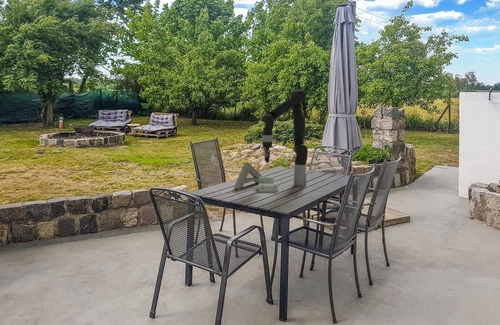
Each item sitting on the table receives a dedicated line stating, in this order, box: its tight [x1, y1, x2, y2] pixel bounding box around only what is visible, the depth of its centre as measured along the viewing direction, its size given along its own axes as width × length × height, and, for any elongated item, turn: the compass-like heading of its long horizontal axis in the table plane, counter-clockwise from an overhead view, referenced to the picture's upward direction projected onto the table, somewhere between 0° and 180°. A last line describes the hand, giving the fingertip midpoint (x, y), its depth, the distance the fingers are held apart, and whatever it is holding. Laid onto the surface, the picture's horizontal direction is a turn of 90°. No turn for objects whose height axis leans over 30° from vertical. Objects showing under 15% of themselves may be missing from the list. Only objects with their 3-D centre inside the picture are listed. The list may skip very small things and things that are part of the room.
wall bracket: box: [233, 161, 264, 191], centre depth 300 cm, size 22×4×30 cm
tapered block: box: [258, 176, 275, 184], centre depth 292 cm, size 11×3×8 cm, turn 96°
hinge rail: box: [257, 183, 279, 193], centre depth 284 cm, size 14×8×5 cm, turn 96°
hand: (266, 162), depth 290 cm, fingers open, 8 cm apart
